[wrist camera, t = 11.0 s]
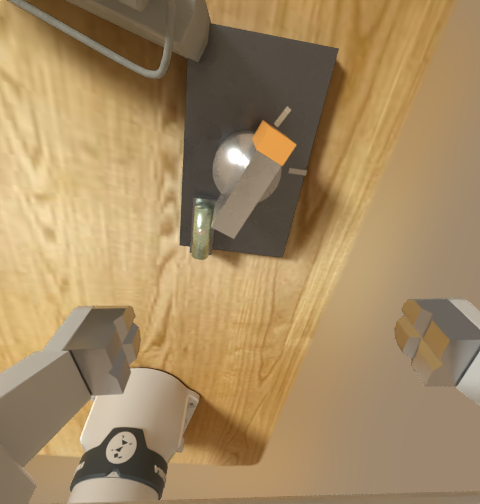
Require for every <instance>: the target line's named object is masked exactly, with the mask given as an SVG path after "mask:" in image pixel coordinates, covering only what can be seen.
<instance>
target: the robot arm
mask: <svg viewBox="0 0 480 504" xmlns="http://www.w3.org/2000/svg"><path fill="white" fill-rule="evenodd" d="M402 312H403V313H404V316H403V317H402V318H400V319H399V320H398V321H397V323H396V326H395V338H396V341H397V344H398V346H399V347H400V349H401V351H402V352H403V353H405V354H406V355H407V356H409V357H411V358H412V362H411V366H412V367H413V369H414V370H415V372H416V373H417V375H418V376H419V378H420V380H421V381H422V383H423V384H424V385H425V386H457V387H456V388H457V389H458V390H460V391H461V392H462V393H463V394H465V395H466V396H467V397H468V398H470V399H471V400H472V401H473V402H475V403H476V404H477V405H479V406H480V311H479V310H478V309H477V308H475V307H474V306H473V305H472V304H471V303H470V302H469V301H467V300H465V299H463V298H460V297H459V298H442V299H409V300H407V301H406V302H405V303H404V305H403V307H402ZM134 318H135V313H134V310H133V307H131V306H78V307H76V308H74V309H73V311H72V312H71V313H70V314H69V316H68V317H67V318H66V320H65V321H64V322H63V324H62V325H61V326H60V328H59V329H58V330H57V332H56V333H55V334H54V336H53V337H52V338H51V340H50V341H49V342H48V343H47V345H46V346H45V347H44V349H43V350H42V351H36V352H34V353H32V354H31V355H29V356H28V357H26V358H24V359H23V360H21V361H20V362H18V363H16V364H15V365H13V366H11V367H10V368H8V369H7V370H5V371H3V372H2V373H0V504H28V503H29V501H30V499H31V496H32V494H33V492H34V490H35V488H36V484H35V480H34V479H33V478H32V477H31V476H30V475H29V474H28V473H27V472H26V470H25V469H24V468H23V467H24V466H25V465H26V464H27V463H28V462H29V461H30V460H31V459H32V458H33V457H34V456H35V455H36V454H37V453H38V452H39V451H40V450H41V449H42V448H43V447H44V446H45V445H46V444H47V443H48V442H49V441H50V440H51V439H52V438H53V437H54V436H55V435H56V434H57V433H58V431H59V430H60V429H61V428H62V427H63V426H64V425H65V424H66V423H67V422H68V421H69V420H70V419H71V418H72V417H73V416H74V415H75V414H76V413H77V412H78V411H79V410H80V409H81V408H82V407H83V406H84V405H85V404H86V403H87V402H88V401H89V400H90V399H92V401H93V402H94V403H93V406H92V408H91V411H90V413H89V416H88V418H87V421H86V423H85V426H84V429H83V431H82V434H81V437H80V442H81V445H82V447H83V449H84V451H85V453H84V455H83V456H82V458H81V461H80V463H79V466H78V467H77V468H76V471H75V473H74V477H73V481H72V483H71V486H70V491H71V495H70V497H69V499H68V502H67V503H53V504H480V491H454V492H421V493H388V494H387V493H386V494H353V495H319V496H287V497H255V498H254V497H253V498H219V499H189V500H187V499H186V500H160V499H161V497H162V493H163V489H164V487H165V482H166V473H167V467H168V466H167V465H168V463H169V461H170V460H171V458H172V457H173V455H174V454H175V453H176V452H180V453H181V452H182V451H183V447H184V441H185V437H182V436H183V434H184V432H185V430H186V428H187V426H188V423H189V421H190V419H191V417H192V415H193V413H194V411H195V409H196V407H197V405H198V403H199V399H200V395H199V394H197V393H196V392H194V391H192V390H190V389H188V388H186V387H185V386H184V385H183V384H182V383H181V382H180V381H179V380H178V379H176V378H175V377H173V376H171V375H169V374H167V373H165V372H162V371H158V370H154V369H148V368H131V369H130V367H129V365H130V364H131V363H132V362H133V361H134V360H135V359H136V358H137V355H138V352H139V349H140V341H141V338H140V330H139V327H138V326H137V325H136V324H134V323H133V320H134Z"/></svg>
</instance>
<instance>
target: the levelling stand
mask: <svg viewBox="0 0 480 504" xmlns="http://www.w3.org/2000/svg"><path fill="white" fill-rule="evenodd" d="M338 50H339V49H338V48H333V47H328V46H323V45H318V44H313V43H308V42H303V41H297V40H292V39H287V38H282V37H277V36H272V35H267V34H262V33H257V32H252V31H247V30H242V29H236V28H231V27H226V26H221V25H216V24H211V23H210V25H209V35H208V43H207V45H206V47H205V49H204V52H203V54H202V56H201V58H200V60H199V62H196V61H194V60H192V59H190V58H188V60H187V84H186V107H185V131H184V155H183V178H182V202H181V225H180V245H181V246H190V253H192V257H193V258H195V259H200V260H202V259H206V258H207V257H208V255H211V254H212V249H215V250H223V251H231V252H240V253H248V254H256V255H265V256H273V257H281V258H282V257H283V254H284V250H285V246H286V243H287V239H288V235H289V231H290V228H291V224H292V220H293V217H294V213H295V209H296V206H297V202H298V198H299V194H300V191H301V187H302V183H303V180H304V176H306V173H307V170H306V168H307V165H308V161H309V157H310V154H311V150H312V146H313V142H314V139H315V135H316V131H317V128H318V124H319V120H320V117H321V113H322V109H323V105H324V102H325V98H326V94H327V91H328V87H329V83H330V79H331V76H332V72H333V68H334V65H335V61H336V57H337V53H338ZM262 120H264V121H265V122H266V123H268V124H269V125H271V126H272V127H274V128H275V129H277V130H278V131H280V132H281V133H283V134H284V135H285V136H287V137H288V138H289V139H290V140H292V141H293V142H294V143H295V144H296V147H295V148H294V150H293V151H292V153H291V154H290V156H289V157H288V159H287V160H286V162H285V163H284V165H283V166H281V167H282V169H281V177H280V181H279V183H278V186H277V187H276V189H275V190H274V192H273V193H272V194H271V195H270V196H269V197H267V198H266V199H264V200H263V201H261V202H258V203H257V204H256V206H255V207H254V209H253V210H252V212H251V214H250V215H249V217H248V218H247V220H246V221H245V223H244V224H243V226H242V227H241V229H240V230H239V232H238V233H237V235H236V236H235V238H234V239H233V238H231V237H229V236H227V235H225V234H223V233H221V232H219V231H217V230H215V229H213V228H212V227H211V225H212V220H213V214H214V208H215V204H216V202H217V200H218V198H219V197H220V195H221V193H220V191H219V190H218V188H217V186H216V185H215V182H214V178H213V172H212V171H213V162H214V158H215V155H216V152H217V149H218V147H219V146H220V144H221V143H222V141H223V140H224V139H225V138H226V137H228V136H229V135H231V134H233V133H235V132H238V131H242V130H250V131H255V132H256V131H257V129H258V127H259V126H260V124H261V122H262Z"/></svg>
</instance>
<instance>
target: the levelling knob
mask: <svg viewBox="0 0 480 504" xmlns="http://www.w3.org/2000/svg"><path fill="white" fill-rule="evenodd" d="M295 147H296V144H295V143H294V142H293V141H292V140H290V139H289V138H288V137H287V136H285V135H284V134H283V133H281V132H280V131H278V130H277V129H275V128H274V127H272V126H271V125H269V124H268V123H266V122H265V121H264V120H262V122H261V124H260V126H259V127H258V129H257V131H256V132H255V131H250V130H242V131H238V132H235V133H233V134H231V135H229V136H228V137H226V138H225V139H224V140H223V141H222V143H221V144H220V146H219V147H218V149H217V152H216V155H215V158H214V162H213V171H212V172H213V178H214V182H215V185H216V186H217V188H218V190H219V191H220V193H221V195H220V197H219V198H218V200H217V202H216V204H215V208H214V214H213V220H212V225H211V227H212V228H213V229H215V230H217V231H219V232H221V233H223V234H225V235H227V236H229V237H231V238H233V239H234V238H235V236H236V235H237V233H238V232H239V230H240V229H241V227H242V226H243V224H244V223H245V221H246V220H247V218H248V217H249V215H250V214H251V212H252V210H253V209H254V207H255V206H256V204H257V203H258V202H261V201H263V200H264V199H266V198H267V197H269V196H270V195H271V194H272V193H273V192H274V190H275V189H276V187H277V186H278V183H279V181H280V177H281V169H282V167H281V166H283V165H284V163H285V162H286V160H287V159H288V157H289V156H290V154H291V153H292V151H293V150H294V148H295Z"/></svg>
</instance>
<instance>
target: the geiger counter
mask: <svg viewBox="0 0 480 504" xmlns="http://www.w3.org/2000/svg"><path fill="white" fill-rule="evenodd" d="M8 1H10V2H11V3H13V4H15V5H17V6H18V7H20V8H22V9H24V10H25V11H27V12H29V13H31V14H32V15H34V16H36V17H38V18H39V19H41V20H43V21H45V22H47V23H48V24H50V25H52V26H54V27H55V28H57V29H59V30H61V31H62V32H64V33H66V34H68V35H69V36H71V37H73V38H75V39H76V40H78V41H80V42H82V43H84V44H85V45H87V46H89V47H91V48H92V49H94V50H96V51H98V52H99V53H101V54H103V55H105V56H106V57H108V58H110V59H112V60H113V61H115V62H117V63H119V64H121V65H123V66H124V67H126V68H128V69H130V70H132V71H134V72H136V73H138V74H140V75H142V76H144V77H147V78H151V79H159V78H162V77H163V76H164V75H165V73H166V72H167V69H168V67H169V64H170V61H171V55H172V52H174V53H176V54H178V55H180V56H182V57H184V58H186V59H188V58H190V59H192V60H194V61H196V62H199V60H200V58H201V56H202V54H203V52H204V49H205V47H206V45H207V43H208V35H209V25H210V23H211V20H210V17H209V13H208V9H207V6H206V2H205V0H65V1H67V2H69V3H71V4H73V5H75V6H77V7H79V8H81V9H84V10H86V11H88V12H90V13H92V14H94V15H96V16H98V17H100V18H102V19H105V20H107V21H109V22H111V23H113V24H115V25H117V26H119V27H121V28H123V29H126V30H128V31H130V32H132V33H134V34H136V35H138V36H140V37H142V38H144V39H147V40H149V41H151V42H153V43H155V44H157V45H159V46H161V47H163V48H164V51H163V57H162V60H161V64H160V67H159V69H158V70H156V71H152V70H147V69H145V68H143V67H141V66H139V65H137V64H135V63H133V62H131V61H129V60H127V59H126V58H124V57H122V56H120V55H118V54H117V53H115V52H113V51H111V50H110V49H108V48H106V47H104V46H103V45H101V44H99V43H97V42H96V41H94V40H92V39H90V38H89V37H87V36H85V35H83V34H82V33H80V32H78V31H77V30H75V29H73V28H71V27H70V26H68V25H66V24H64V23H63V22H61V21H59V20H57V19H56V18H54V17H52V16H50V15H49V14H47V13H45V12H43V11H42V10H40V9H38V8H36V7H35V6H33V5H31V4H29V3H28V2H26V1H24V0H8Z"/></svg>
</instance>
